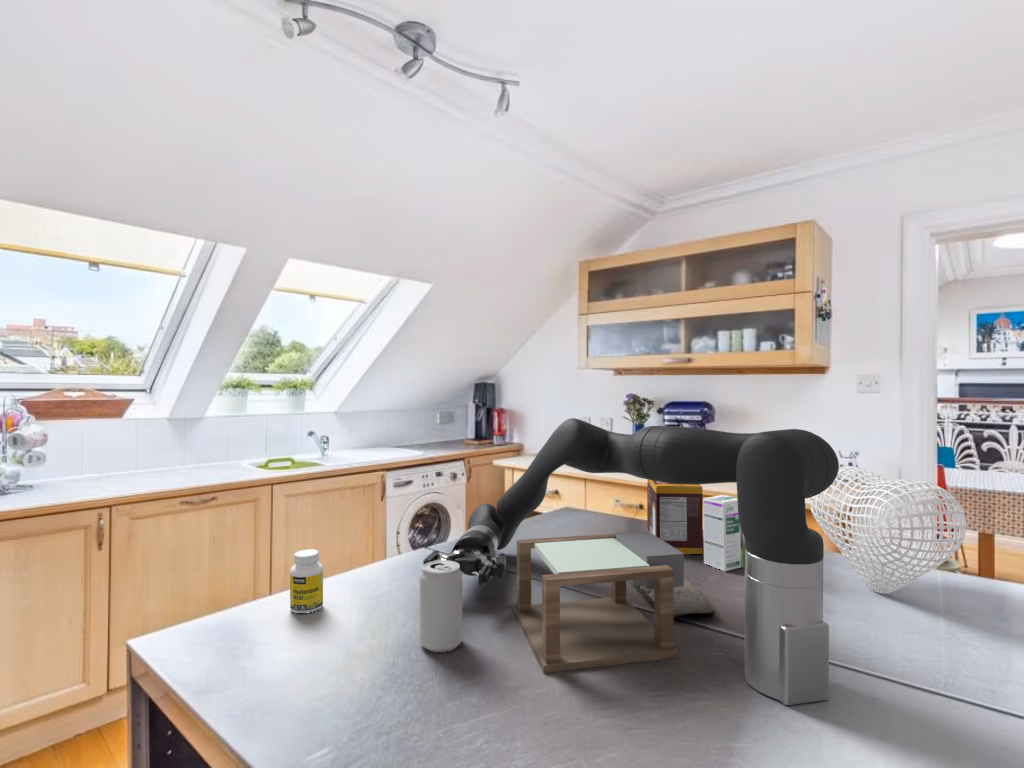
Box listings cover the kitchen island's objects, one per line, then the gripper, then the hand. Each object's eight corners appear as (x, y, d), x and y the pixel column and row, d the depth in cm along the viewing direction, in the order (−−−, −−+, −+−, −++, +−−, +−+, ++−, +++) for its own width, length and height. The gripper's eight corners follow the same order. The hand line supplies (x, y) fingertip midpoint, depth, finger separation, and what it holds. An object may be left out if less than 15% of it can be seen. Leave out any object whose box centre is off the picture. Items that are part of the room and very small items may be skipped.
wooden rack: (678, 657, 80) (678, 570, 79) (543, 673, 76) (543, 581, 75) (623, 601, 99) (623, 532, 99) (513, 611, 95) (513, 539, 95)
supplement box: (688, 535, 140) (688, 473, 139) (703, 555, 124) (703, 486, 124) (646, 534, 141) (646, 473, 141) (655, 554, 125) (656, 485, 125)
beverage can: (442, 630, 88) (441, 555, 88) (471, 643, 84) (471, 564, 84) (411, 646, 83) (410, 566, 83) (440, 659, 79) (440, 576, 79)
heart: (792, 568, 116) (792, 462, 115) (859, 564, 118) (859, 460, 118) (906, 629, 88) (907, 489, 88) (990, 622, 90) (992, 486, 90)
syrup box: (725, 572, 114) (725, 501, 113) (702, 564, 119) (702, 496, 118) (743, 567, 116) (744, 498, 116) (721, 559, 122) (721, 493, 121)
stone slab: (660, 612, 91) (614, 548, 120) (660, 631, 91) (614, 563, 121) (722, 611, 91) (660, 548, 121) (721, 630, 91) (660, 562, 121)
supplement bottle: (288, 616, 94) (287, 559, 93) (292, 604, 99) (291, 549, 99) (322, 613, 95) (321, 556, 95) (324, 600, 100) (323, 546, 100)
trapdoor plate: (687, 588, 83) (687, 555, 83) (558, 600, 79) (558, 565, 79) (646, 558, 97) (646, 530, 97) (534, 567, 93) (534, 537, 93)
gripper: (440, 528, 109) (414, 554, 93) (512, 531, 107) (497, 558, 91) (440, 566, 109) (414, 599, 93) (512, 569, 107) (498, 603, 91)
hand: (455, 578), depth 92 cm, fingers open, 8 cm apart
